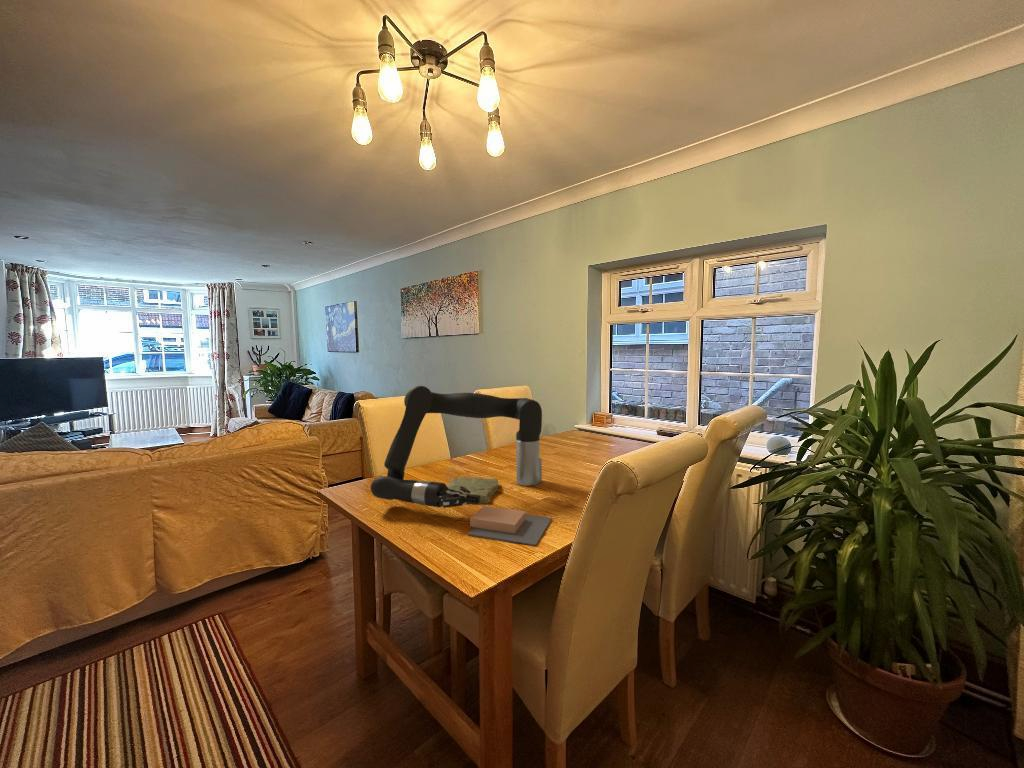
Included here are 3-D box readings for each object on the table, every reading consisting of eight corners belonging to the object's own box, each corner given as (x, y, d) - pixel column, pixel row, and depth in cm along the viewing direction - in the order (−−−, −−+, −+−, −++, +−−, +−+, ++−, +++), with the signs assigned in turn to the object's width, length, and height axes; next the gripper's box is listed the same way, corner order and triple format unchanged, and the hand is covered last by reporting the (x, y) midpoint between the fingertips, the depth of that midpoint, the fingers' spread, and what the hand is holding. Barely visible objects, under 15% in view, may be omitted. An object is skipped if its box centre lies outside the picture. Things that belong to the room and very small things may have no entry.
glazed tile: (469, 518, 118) (515, 524, 113) (483, 505, 128) (525, 511, 123) (470, 527, 118) (515, 534, 114) (483, 514, 128) (525, 519, 123)
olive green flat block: (439, 503, 139) (439, 493, 139) (453, 484, 159) (453, 475, 159) (492, 505, 137) (492, 495, 137) (500, 485, 157) (500, 476, 157)
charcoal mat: (467, 535, 114) (467, 533, 114) (491, 511, 131) (491, 509, 131) (535, 546, 108) (535, 544, 108) (551, 519, 124) (551, 517, 124)
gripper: (417, 488, 121) (470, 495, 116) (439, 475, 134) (487, 481, 128) (418, 512, 122) (470, 520, 116) (440, 497, 135) (488, 504, 129)
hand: (479, 499), depth 122 cm, fingers closed
